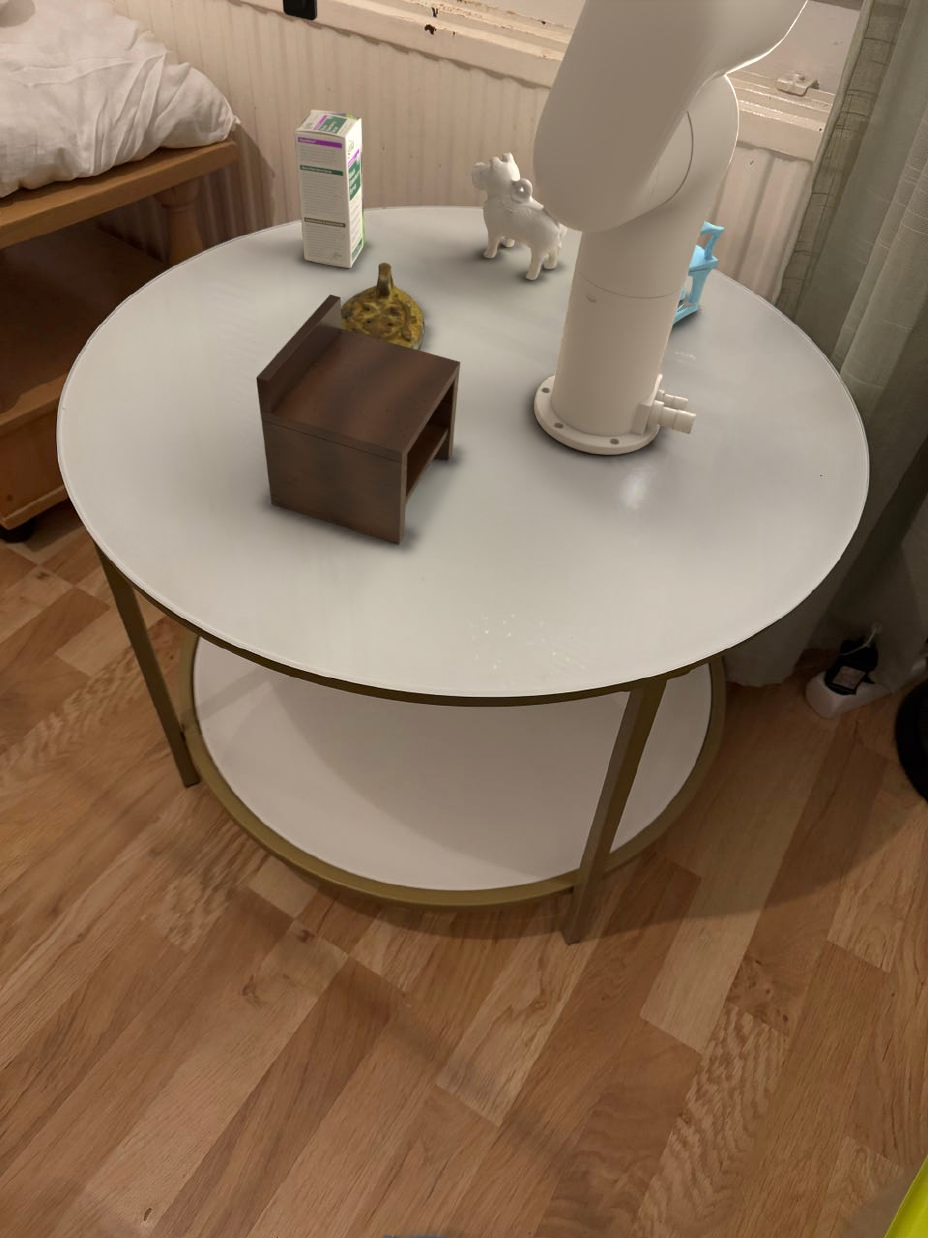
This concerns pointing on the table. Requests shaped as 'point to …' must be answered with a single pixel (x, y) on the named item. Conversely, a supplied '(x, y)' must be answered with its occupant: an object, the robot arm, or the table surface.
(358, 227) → the syrup box
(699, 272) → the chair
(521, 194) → the dog figurine
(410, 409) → the shelf
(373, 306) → the seal
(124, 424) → the table surface
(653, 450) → the table surface
